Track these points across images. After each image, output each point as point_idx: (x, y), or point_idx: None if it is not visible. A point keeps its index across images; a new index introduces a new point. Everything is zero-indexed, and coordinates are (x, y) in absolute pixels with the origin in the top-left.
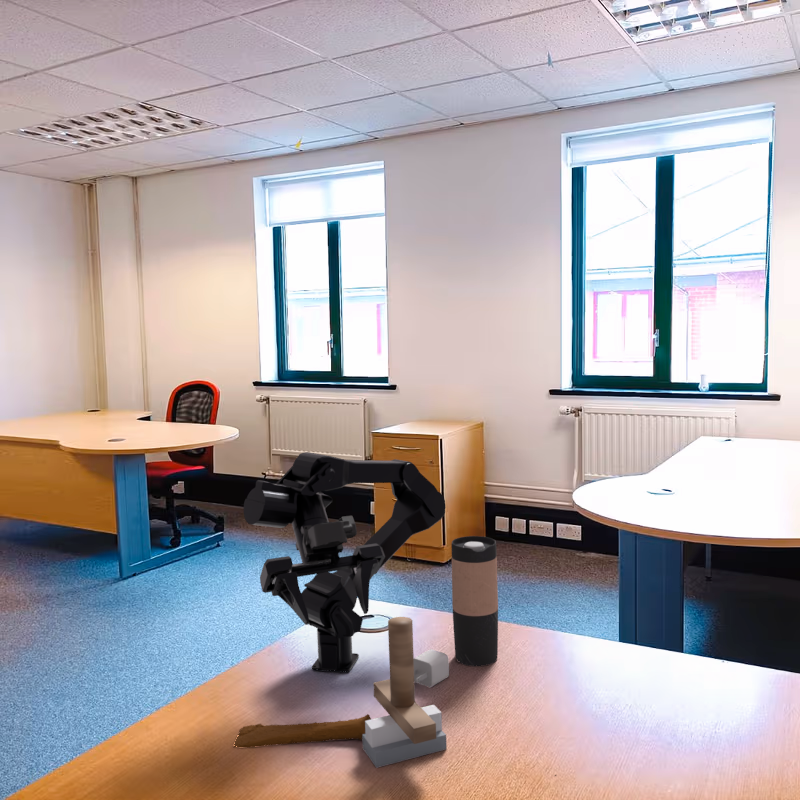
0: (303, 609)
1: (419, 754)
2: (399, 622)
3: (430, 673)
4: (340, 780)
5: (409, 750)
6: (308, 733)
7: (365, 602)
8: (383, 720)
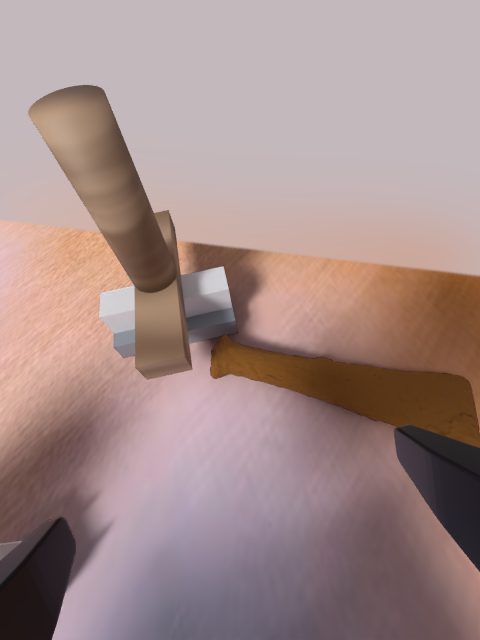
0: (465, 452)
1: None
2: (73, 98)
3: (8, 548)
4: (277, 273)
5: None
6: (327, 359)
7: (21, 556)
8: (198, 285)
